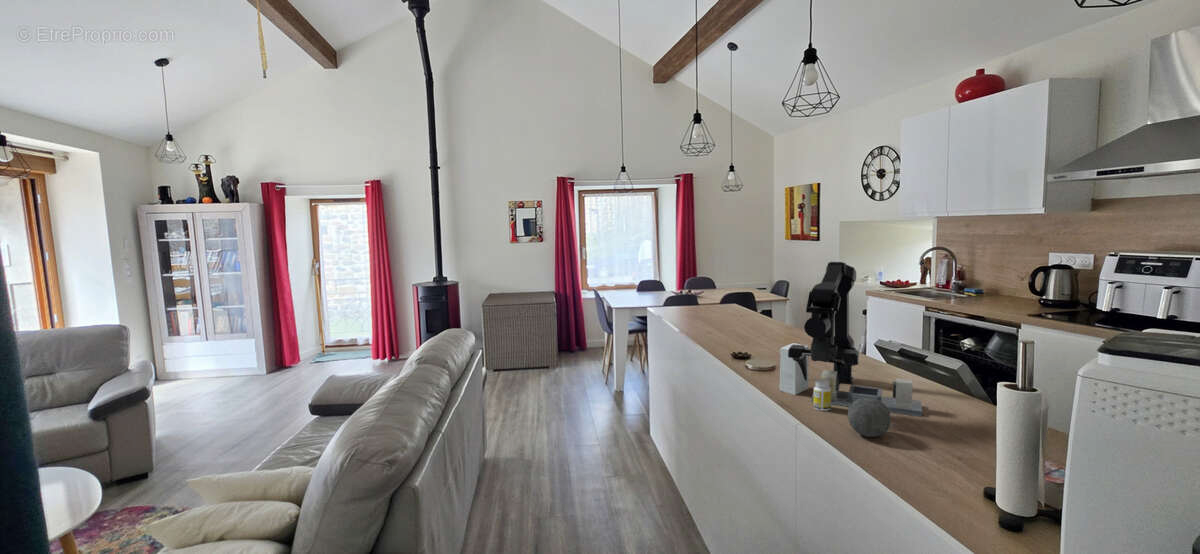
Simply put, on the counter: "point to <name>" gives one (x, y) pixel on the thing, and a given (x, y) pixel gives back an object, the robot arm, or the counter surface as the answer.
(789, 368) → the skincare box
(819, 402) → the supplement bottle
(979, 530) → the counter surface
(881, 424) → the decorative ball
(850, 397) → the rail
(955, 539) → the counter surface
